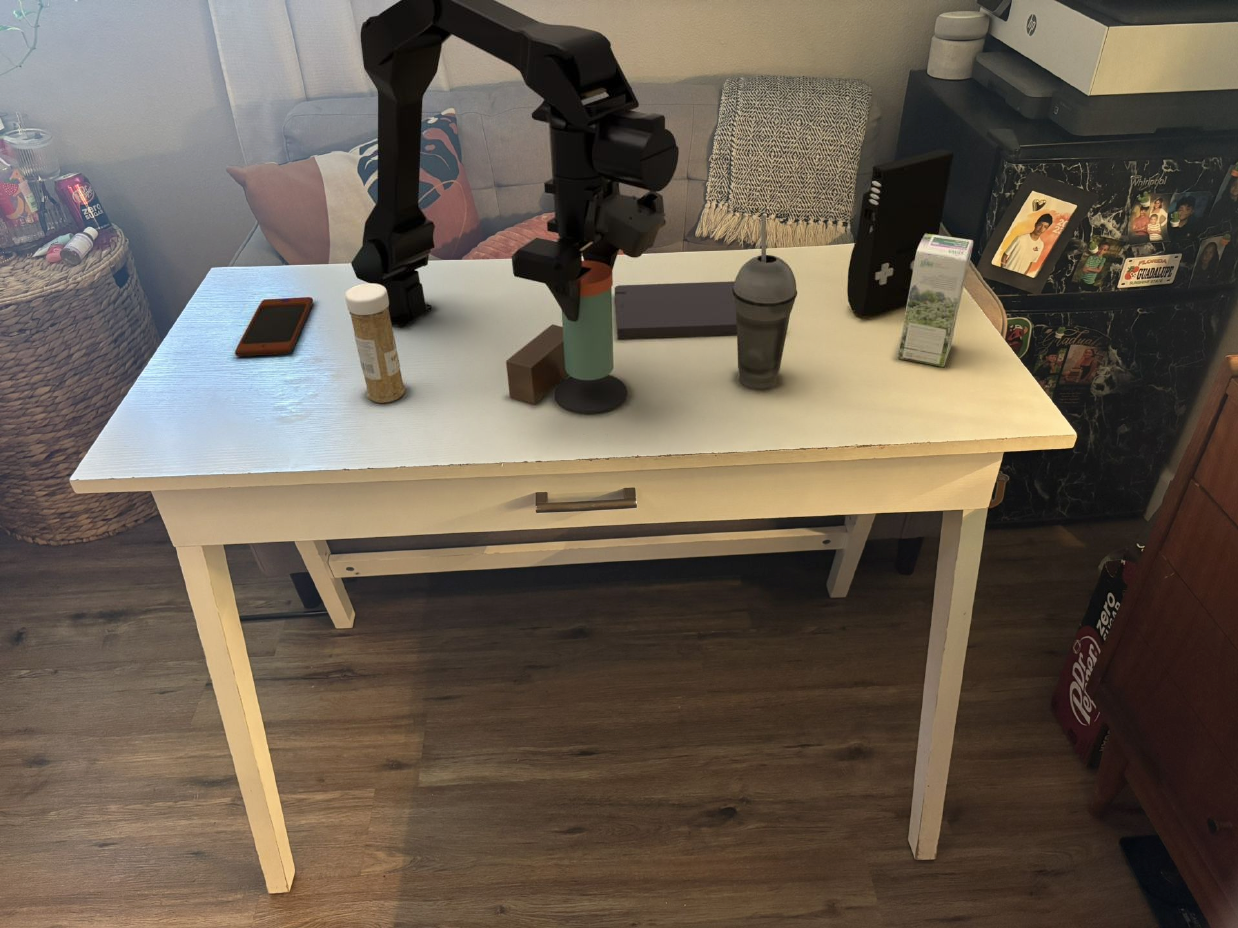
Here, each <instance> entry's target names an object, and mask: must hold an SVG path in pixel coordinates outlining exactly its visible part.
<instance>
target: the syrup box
mask: <svg viewBox="0 0 1238 928" xmlns="http://www.w3.org/2000/svg"><path fill="white" fill-rule="evenodd" d="M973 247H974V240H973V239H968V238H967V239H966V238H962V237H961V238H960V237H951V236H946V235H941V234H939V235H932V234H925V235H924V237H923V238H922V240H921V242H920V244H919V247H918V249H917V252H916V256H915V262H914V268H913V274H912V279H911V285H910V291H909V296H908V302H907V305H906V306H905V307H906V308H905V314H904V319H903V325H902V330H901V338H900V342H899V347H898V352H897V359H899V360H905V361H909V362H914V363H915V362H916V363H920V364H925V365H929V366H936V367H940V368H941V367H942V368H943V367H945V364H946V362H947V358H948V356H949V354H950V350H951V348H952V344H953V339H954V333H955V328H956V323H957V319H958V313H959V309H960V304H961V301H962V295H963V292H964V287H965V282H966V279H967V276H968V275H967V274H968V269H969V266H970V261H971V258H972V254H973V253H972V251H973V249H974V248H973Z"/></svg>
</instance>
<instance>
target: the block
mask: <svg viewBox="0 0 1238 928" xmlns="http://www.w3.org/2000/svg"><path fill="white" fill-rule="evenodd" d="M505 365H506V366H505V367H506V374H507V382H508V383H507V384H508V394H509V398H510V399H513V400H517V401H519V402H523V403H526V404H530V405H536V404H537V403H538V402H540V401H541V400H542V399H543V398H544V397H545V396H546V395H547V394H549V393H550V392H551V391H552V390H553V389H555V388H556V387H557V385H558V384H559V383H560V382H562V381H563V380H565V379H566V378H568V376H569V375H568V373H567V372H566V370H565V357H564V341H563V326H561V325H557V324H554V323H553V324H551V325H549V326H548V327H546V328H545V329H544V330H543V331H542V332H540V333H539V334H538V335H537V336H535V337H534V338H533V339H532V340H531V341H529V342H528V343H527V344H526V345H523V347H522V348H520V349H519V350H517V351H516V352H515V353H514V354H512V356H510V357H509V358H507V360H505Z"/></svg>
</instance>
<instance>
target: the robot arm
mask: <svg viewBox="0 0 1238 928" xmlns="http://www.w3.org/2000/svg"><path fill="white" fill-rule="evenodd" d="M359 35H360V47H361V55H362V56H361V57H362V64H363V70H364V71H365V72H366V74H367V75H368V77H369V79H370V80H371V82H372V83H373V85H374V87H375V88H376V91H377V200H376V203H375V204H374V207H373V208H372V210H371V211H370V213H369V215H368V216H367V218H366V220H365V222H364V229H363V235H362V243H361V247H360V249H359V250H358V251H357V253H356V254H355V256H354V258H353V259H352V261H351V263H350V264H351V265H350V266H351V267H352V270H353V272H354V275H355V277H356V279H358V280H360V281H362V282H364V283H366V284H368V283H373V284H379V285H382V286H384V287H385V288H386V290H387V294H388V299H389V305H388V306H389V307H388V309H389V315H390V320H391V325H392V326H396V327H398V328H406V327H407V326H409V325H410V324H411V323H413V322H414V321H416V320H417V319H419V318H420V317H422V316H423V315H425V314H427V313H428V312H429V311H431V310H433V306H432V304H430V303H426V300H425V294H424V293H425V292H424V287H423V283H422V282H421V280H420V274H419V273H420V272H419V270H418V269H420V268H422V267H426V266H428V264H429V256H430V253H431V251H432V249H435V248H436V247H435V246H436V245H435V242H434V235H435V234H434V232H435V228H436V226H435V223H434V221H432V220H430V219H428V217H427V216H426V214H425V213H424V212H423V210H422V209H421V207H420V203H419V202H420V201H419V199H420V198H419V197H420V174H421V173H420V172H421V152H422V151H421V149H422V128H423V127H422V126H423V124H422V123H423V99H424V96H425V93H426V92H427V90H428V88H429V87H430V85H431V84H432V81H433V80H434V78H435V77H436V74H438V70H439V64H440V58H441V53H442V47H443V44H445V43H446V41H447V40H448V39H450V38H451V37H452V36H454V37H456V38H458V39H459V40H462V41H464V42H465V43H467V44H470V45H471V46H473V47H475V48H477V49H479V50H481V51H483V52H485V53H486V54H489V55H491V56H493V57H495V58H496V59H498V60H501V61H502V62H504V63H506V64H507V65H511V66H512V67H513V68H514V69H516V70H517V71H518V72H519V73H520V75H521V77H522V79H523V81H524V84H525V85H526V86H527V88H528V89H530V90H531V91H533V92H534V93H535V94H536V95H537V96H538V97H540V98H541V99H543V101H542V102H541V104H540V105H539V106H538V107H536V108H535V109H534V110H533V111H532V112H531V119H532V120H534V121H538V122H541V123H546V124H548V131H549V132H548V133H549V134H548V135H549V147H550V148H549V149H550V164H551V165H550V166H551V178H550V179H548V180H547V181H545V182H544V183H543V186H544V187H543V188H544V193H545V194H549V195H550V194H551V195H553V209H554V212H553V213H554V217H552V218H551V219H549V220H547V221H546V228H547V229H546V231H547V232H551V233H554V234H555V233H556V234H558V238H557V239H556V240H551V239H545V238H541V237H535V238H533V239H532V240H530V241H529V242H527V243H526V244H524V245H523V246H521V247H520V248H518V249H517V250H516V251H515V252H514V253H513V254H512V255H511V264H512V274H513V276H514V278H520V279H523V280H528V281H532V282H537V283H541V284H544V285H546V287H547V288H548V290H549V291H550V293H551V294H552V296H553V298H554V299H555V301H556V303H557V305H558V306H559V308H560V309H561V312H562V311H563V312H564V314H565V316H566V317H567V319H568V320H570V321H574V322H576V321H577V320H578V315H579V305H580V286H581V279H582V278H583V277H584V276H585V275H586V274H588V273H589V272H590V271H591V268H588V267H583V266H582V261H597V262H601V263H604V264H607V265H608V266H610V267H611V269H612V271H613V270H614V267H615V264H616V260H617V258H618V254H619V252H620V251H622V253H623V254H624V255H625V256H627V257H629V258H634V259H635V258H636V259H637V258H639V257H641V256H642V255H643V254H644V253H645V252H646V251H647V250H648V249H650V248H652V247H653V246H654V244H655V242H656V239H657V236H658V234H659V231H660V229H662V228H664V226H665V225H666V224H667V221H666V219H665V217H666V213H665V206H664V205H665V204H664V197H663V195H662V194H660V193H659V192H661V191H662V190H664V189H665V188H666V187H667V186H668V185H669V183H671V182H672V180H673V178H674V175H675V173H676V170H677V167H678V162H679V155H680V153H679V149H680V148H679V146H677V141H676V138H675V136H674V133H672V131H670V130H669V129H667V128H666V116H665V115H664V114H659V113H654V112H651V113H644V112H640V111H635V109H638V108H639V106H640V103H639V100H638V99H637V98H638V97H636V95H635V92H634V91H633V87H632V86H631V85H630V83H629V81H628V80H627V77H626V75H625V74H624V73H625V72H624V71H623V70H622V68H621V66H620V64H619V62H618V59H617V58H616V56H615V53H614V52H613V49H612V44H611V43H612V42H611V41H610V40H609V39H608V37H606V35H604V34H603V33H601V32H599V31H596V30H592V29H589V28H584V27H580V26H575V25H567V24H549V23H545V22H541V21H538V20H536V19H534V18H532V17H530V16H528V15H526V14H524V13H522V12H521V11H519V10H515V9H513V8H511V7H509V6H507V5H505V4H503V3H501V2H499V1H497V0H398V1H397V2H395V4H393V5H391V6H389V7H388V8H386V9H385V10H383V11H382V12H380V13H378V14H377V15H372V16H369V17H368V18H367V19H366V21H364V22H362V24H361V28H360V34H359ZM605 93H606V94H607V95H608V96H605V97H602V98H599V99H596V100H593V101H591V102H587V103H586V104H583V101H585V100H588V99H590V98H594V97H597V96H600V95H603V94H605ZM620 184H623V185H626V186H630V187H634V188H638V189H642V190H645V191H648V192H646V193H645V194H643V195H642V196H641V197H637V196H635V195H625V194H621V191H620Z"/></svg>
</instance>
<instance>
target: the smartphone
mask: <svg viewBox="0 0 1238 928" xmlns="http://www.w3.org/2000/svg"><path fill="white" fill-rule="evenodd" d="M313 303H314V299H313V297H311V296H303V297H284V298H283V297H282V298H266V299H262V300H261V302H260V303H259V305H258V306H257V308H256V311H255V312H254V314H253V316H252V317H251V320H250V322H249V323H248V325H247V327H246V329H245V331H244V333H243V334H242V336H241V338H240V340H239V343H238V344H237V346H236V348H235V351H234V354H235V356H237V357H253V356H254V357H255V356H272V355H287V354H291V353H292V351H293V350H294V347H295V345H296V343H297V340H298V338H299V336H300V334H301V332H302V329H303V326H304V324H305V321H306V320H307V318H308V315H309V313H310V311H311V308H312V306H313Z"/></svg>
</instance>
